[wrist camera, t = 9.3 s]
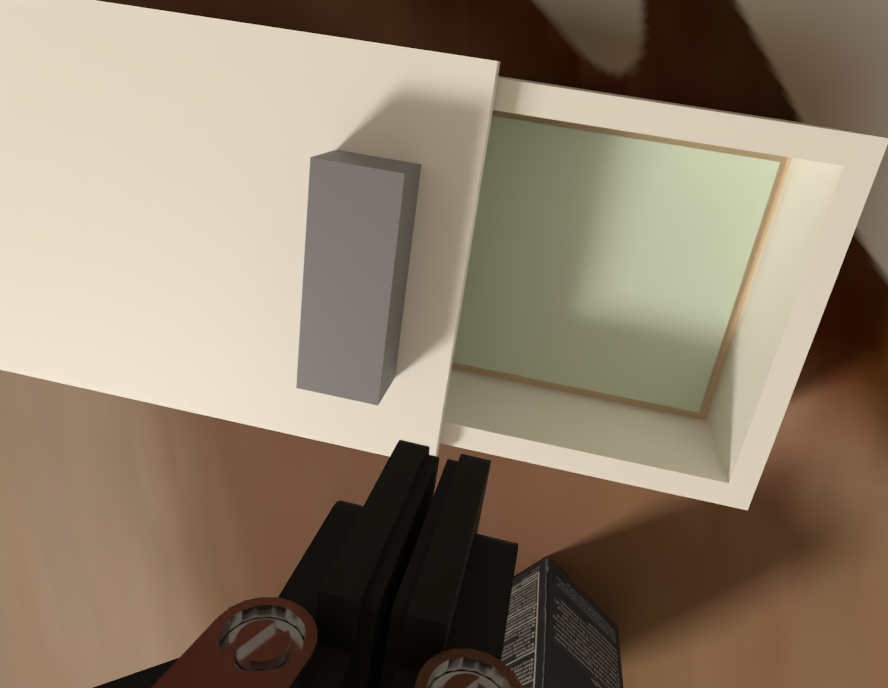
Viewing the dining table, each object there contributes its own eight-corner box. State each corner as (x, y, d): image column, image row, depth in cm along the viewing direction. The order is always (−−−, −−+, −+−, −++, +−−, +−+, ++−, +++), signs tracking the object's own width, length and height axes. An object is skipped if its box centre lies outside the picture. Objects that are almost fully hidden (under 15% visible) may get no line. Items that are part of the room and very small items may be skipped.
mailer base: (824, 126, 26) (889, 138, 21) (717, 435, 32) (747, 510, 26) (333, 50, 29) (274, 43, 23) (312, 351, 34) (260, 403, 28)
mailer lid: (508, 63, 24) (488, 58, 19) (449, 424, 30) (421, 501, 25) (-30, -18, 27) (-184, -43, 21) (11, 330, 32) (-101, 381, 27)
